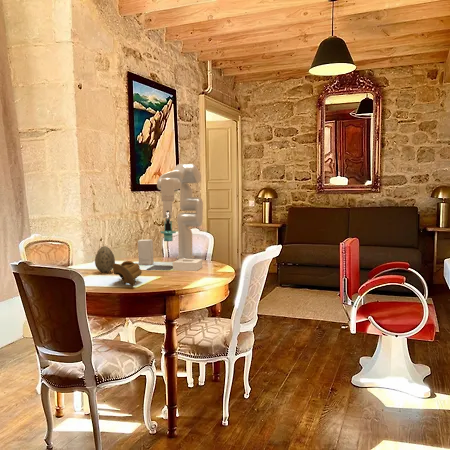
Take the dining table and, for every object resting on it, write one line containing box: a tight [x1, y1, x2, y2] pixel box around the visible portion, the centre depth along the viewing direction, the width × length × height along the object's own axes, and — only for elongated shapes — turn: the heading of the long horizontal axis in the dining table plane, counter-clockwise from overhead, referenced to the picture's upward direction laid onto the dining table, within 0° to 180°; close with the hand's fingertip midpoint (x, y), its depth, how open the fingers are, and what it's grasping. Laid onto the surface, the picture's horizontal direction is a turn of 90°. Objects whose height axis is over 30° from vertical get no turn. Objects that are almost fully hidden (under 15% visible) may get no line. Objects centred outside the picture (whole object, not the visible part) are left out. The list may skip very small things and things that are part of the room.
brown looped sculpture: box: [112, 260, 143, 287], centre depth 213 cm, size 18×13×22 cm
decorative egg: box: [94, 245, 116, 274], centre depth 242 cm, size 11×11×15 cm
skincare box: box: [137, 238, 154, 266], centre depth 271 cm, size 8×7×16 cm
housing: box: [172, 258, 203, 272], centre depth 253 cm, size 14×14×5 cm
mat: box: [146, 264, 173, 271], centre depth 256 cm, size 14×14×1 cm
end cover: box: [160, 220, 177, 242], centre depth 254 cm, size 9×9×12 cm
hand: (168, 229), depth 254 cm, fingers closed on end cover, 4 cm apart
